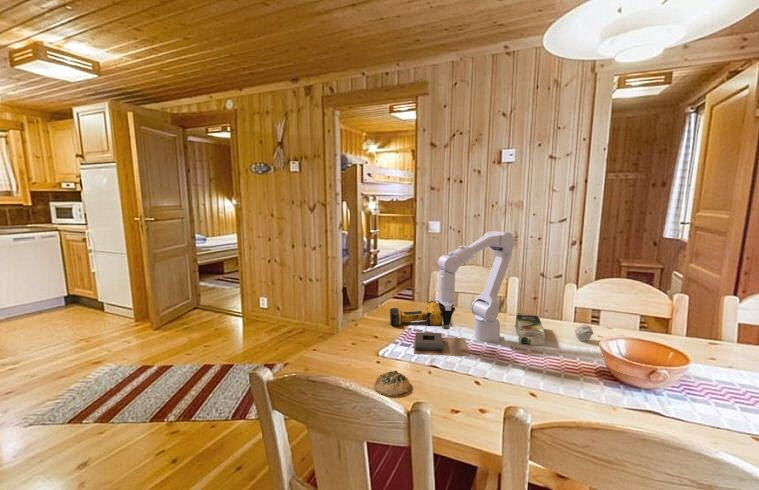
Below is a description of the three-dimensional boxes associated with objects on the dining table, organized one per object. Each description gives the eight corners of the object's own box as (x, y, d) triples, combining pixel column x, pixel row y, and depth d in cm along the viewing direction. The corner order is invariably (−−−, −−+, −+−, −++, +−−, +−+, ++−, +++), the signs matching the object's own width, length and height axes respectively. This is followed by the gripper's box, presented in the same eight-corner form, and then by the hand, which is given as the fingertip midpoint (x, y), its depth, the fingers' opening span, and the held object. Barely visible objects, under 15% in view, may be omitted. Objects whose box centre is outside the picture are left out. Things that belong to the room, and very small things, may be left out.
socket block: (441, 340, 139) (441, 333, 139) (442, 351, 129) (442, 343, 129) (415, 339, 140) (415, 332, 140) (415, 350, 130) (415, 342, 130)
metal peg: (449, 326, 134) (450, 308, 133) (450, 329, 131) (451, 311, 130) (441, 326, 135) (441, 308, 134) (442, 329, 132) (442, 310, 131)
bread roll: (388, 373, 115) (390, 360, 114) (417, 389, 109) (418, 375, 107) (366, 389, 107) (367, 375, 106) (395, 407, 100) (396, 392, 99)
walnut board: (464, 340, 141) (464, 338, 141) (470, 358, 125) (470, 356, 125) (414, 338, 143) (414, 336, 143) (413, 356, 128) (413, 353, 127)
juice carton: (546, 347, 135) (547, 332, 134) (518, 344, 138) (519, 329, 137) (538, 329, 154) (539, 315, 153) (514, 327, 157) (515, 313, 156)
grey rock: (580, 344, 136) (582, 327, 135) (570, 337, 143) (571, 321, 142) (596, 344, 137) (597, 327, 136) (585, 337, 144) (586, 320, 143)
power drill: (388, 310, 180) (437, 309, 180) (390, 328, 156) (447, 327, 156) (388, 297, 179) (437, 296, 179) (390, 312, 155) (447, 311, 155)
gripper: (435, 282, 138) (434, 316, 140) (437, 292, 124) (436, 329, 126) (453, 283, 138) (452, 316, 140) (457, 293, 123) (456, 330, 125)
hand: (446, 323), depth 133 cm, fingers closed on metal peg, 3 cm apart
